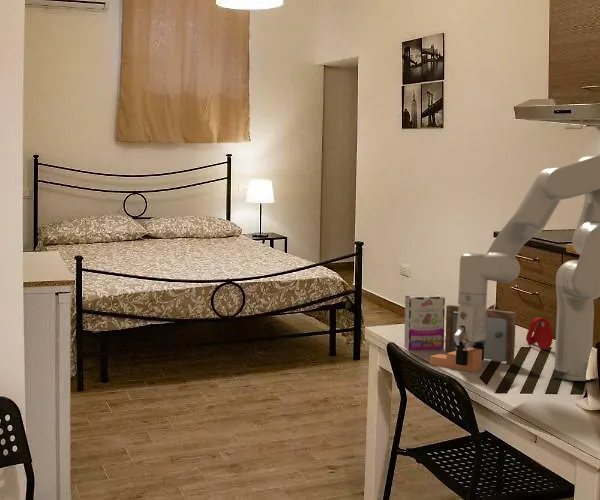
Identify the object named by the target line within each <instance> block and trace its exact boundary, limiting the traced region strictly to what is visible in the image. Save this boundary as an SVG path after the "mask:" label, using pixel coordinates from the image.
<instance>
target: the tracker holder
mask: <svg viewBox="0 0 600 500" xmlns="http://www.w3.org/2000/svg"><path fill="white" fill-rule="evenodd" d="M537 323H538V324H537ZM525 340H526V343H527V344H528V345H530V346H534V345H536V344H537V345H538V347H539V348H540V349H542V350H547V349H550V347H551V346H552V343H553V331H552V326H551V322H550V321H549V320H548V319H547V318H543V317H540V316H538V317H534V318H532V320H531V321H530V325H529V328H528V331H527V333H526V336H525Z"/></svg>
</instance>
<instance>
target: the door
mask: <svg viewBox="0 0 600 500" xmlns="http://www.w3.org/2000/svg"><path fill="white" fill-rule="evenodd" d="M457 317H458V312H454V313H453V343H452V352H453V351H456V349H455V347H456V346H455V340H454V335H455V334H456V328H457ZM487 318H488V335H487V338H486V339H485V345H484V360H491V361H496V362H497V361H498V362H503V363H506V355H507V329H508V318H497V317H489V316H487ZM464 344H465V343H463V345H464ZM473 344H474V343H471V342H469V345H468V347H467V348H473ZM474 345H475V344H474Z"/></svg>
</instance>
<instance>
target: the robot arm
mask: <svg viewBox="0 0 600 500" xmlns="http://www.w3.org/2000/svg"><path fill="white" fill-rule="evenodd" d="M583 195H584V202H583V205H582V206H583V207H582V210H581V213H580V215H579V219H578V221H577V225H576V227H575V230H574V233H573V234H572V235H573V236H572V241H571V244H572V248H573V250H574V251H575V252H576V253H577V254H578V255H579V258H578V259H571V260H568V261H565V262H564V263H563V264H561V265H560V267H559V268H558V269H557V272H556V274H555V290H556V323H555V324H556V325H555V327H556V328H555V351H554V356H555V357H554V370H556V372H557V371H558V372H561V374H559V375H557V376H555V377H554V378H556V379H558V380H559V379H560V380H564V381H565V380H566V381H575V382H587V381H586V370H587V365H588V359H589V356H590V352H591V350H592V351H593V338H594V335H593V334H594V319H595V306H594V305H595V304H594V300H597V299H598V298H600V153H598V154H589V155H585V156H582V157H581V158H579V159H578V160H577V161H576V162H574V163H571V164H567V165H563V166H556V167H555V166H554V167H546V168H545V169H542V170H541V172H539V174H538V175H537V176H536V177H535V179H534V181H533V182H532V184H531V186H530V187H529V189H528V191H527V193H526V195H525V196H524V197H523V200H521V203H520V204H519V207H518V208H517V210H516V211H515V212H514V214H513V215H512V217H511V218H509V220H508V222H507V223H506V224H505V226H504V227H503V228H502V229H501V230H500V232H498V234H497V236H495V238H494V240H493V242H492V243H491V245H490V247H489V248H488V250H487V252H486V253H485V254H483V253H479V252H478V253H476V252H467V253H463V254H461V255H460V258H459V271H458V272H459V276H458V295H457V296H458V299H457V303H458V306H459V310H458V312H457V313H458V317H457V328H456V334H455V335H454V340H455V346H456V347H455V349H456V364H458V365H464V366H466V365H467V362H468V351H466V350H467V347H468V345H469V342H471V343H474V344H475V345H474V344H473V348H476V349H482V361H484V360H485V359H484V345H485V339H486V338H487V335H488V318H487V309H488V307H487V302H488V285H489V284H488V282H489V281H493V282H499V283H509V282H512V281H514V280H515V279H517V278H518V276H519V275H520V272H521V266H520V263H519V261H518V260H517V259H516V256H517V254H519V251H520V250H521V249H522V248H523V246H524V245H525V244H526V243H527V242H528V241H530V240H532V238H534V237H536V236H537V235H538V234H540V233H541V232H542V231H543V230H544V229H545V227H546V225H547V224H548V223H549V220H550V219H551V217H552V215H553V214H554V212H555V210H556V209H557V207H558V205H559V204H560V202H561V200H567V199H573V198H574V197H579V196H583ZM463 343H465V344H464V345H463Z"/></svg>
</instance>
